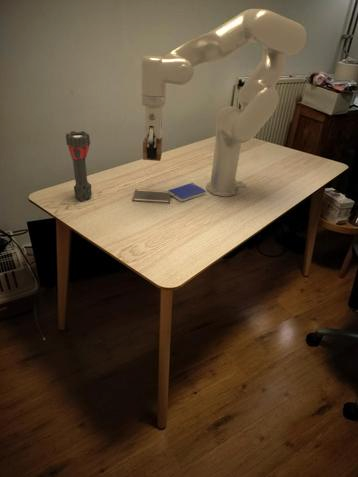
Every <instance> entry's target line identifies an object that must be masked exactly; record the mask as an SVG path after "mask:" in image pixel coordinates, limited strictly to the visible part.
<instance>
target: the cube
mask: <svg viewBox="0 0 358 477" xmlns="http://www.w3.org/2000/svg"><path fill="white" fill-rule="evenodd" d="M153 138H155V137H153ZM153 141H154V140H153ZM147 144H148V138H146V136H144V138H143V142H142V160H143V161H155V162H160V161H162V155H163V154H162V153H163V152H162V151H163V138H162V137H161V138H160V139H158V138H156V147H157V155H156V159H148V158H147Z"/></svg>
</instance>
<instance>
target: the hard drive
mask: <svg viewBox="0 0 358 477" xmlns="http://www.w3.org/2000/svg"><path fill="white" fill-rule="evenodd" d="M167 191H168V194H170V195H171V197H173V198H175V199H176V200H178V201H179V202H184V201H187V200H190V199H193V198H197V197H199V196H202V195H205V194H206V193H207V190H206V189H204V188H202V187H200V186H199V185H198V184H195V183H193V182H190V183H187V184H184V185H181V186H178V187H174V188H171V189H168V190H167Z"/></svg>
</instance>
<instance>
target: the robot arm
mask: <svg viewBox="0 0 358 477" xmlns="http://www.w3.org/2000/svg"><path fill="white" fill-rule="evenodd" d="M306 41H307V31H306V29H305V27H304V26H303V25H302V24H300V23H299V22H297V21H295V20H292V19H290V18H287V17H285V16H283V15H282V14H281V15H280V14H278V13H277V12H274V11H272V10H269V9H265V8H249V9H246V10H244V11H242V12H240V13H239V14H237V15H235V16H233V18H231V19H229V20H228V21H225V22H224V23H223V24H221V25H219V26H217V27H216V28H214V29H213V30H211V31H209V32H207V33H204V34H202V35H200V36H198V37H196V38H194V39H191V40H189V41H187V42H185V43H183V44H181V45H179V46H178V47H177V48H175V49H173V50H172V51H171V52H169V53H167V54H166V55H165V56H164V57H163V56H159V55H145V56H143V57H142V59H141V106H142V107H144V121H145V122H144V132H145V137H146V138H148V144H147V158H148V159H156V155H157V147H156V138H158V139H160V138H162V134H163V108H164V107H166V89H167V88H166V87H167V84H171V85H177V86H183V85H186V84H188V83H189V82H191V80H192V79H193V76H194V74H195V73H194V67H195V66H198V65H200V64H204V63H210V62H211V63H213V62H218V61H222V60H224V59H226V58H228V57H229V56H231V55H233V54H234V53H236V52H237V51H239V50H240V49H242V48H244V47H245V46H247V45H249V44H251V43H255V44H257V45H258V44H260V45H262V56H261V57H262V58H261V60H260V63H259V64H258V66H257V67H256V69H255V70H253V72H252V74H251V75H250V77H248V79H247V80H246V82H245V83H244V84H243V85H242V87H241V88H240V90H239V92H238V94H237V100H238V103H239V105H240V106H241V107H243V108H244V109H243V110H242V109H240V108H238V107H235V106H232V105H229V106H227V105H226V106H225V107H222V109H220V110H219V111H218V113H217V115H216V118H215V144H214V152H213V160H212V168H211V177H210V181H209V182H207V183H206V185H205V190H206V192H208V193H209V194H212V195H214V196H218V197H231V196H234V195H236V194H237V192H238V189H240V188H241V189H247V183H246V182H245V183H244V182H243V180H242V181H241V180H239V181H238V180H237V179H236V178H237V171H238V166H239V160H240V154H241V145H242V144H245V143H248V142H250V141H251V140H252V139H253V138H254V137H255V136H256V135H257V134H258V132H260V130H261V129H262V128H263V126H264V125H265V124H266V123H267V122H268V120H269V119H270V118H271V117H272V115H273V114H274V113H275V111H276V109H277V107H278V104H279V98H280V97H279V93H278V90H277V89H276V88H275V86H276V85H277V83H278V82H279V80H280V79H281V77H282V75H283V73H284V70H285V66H286V56H293V55H296V54H298V53H299V52H300V51H302V49H303V48H304V46H305V44H306ZM153 137H155V138H153ZM153 140H154V141H153Z"/></svg>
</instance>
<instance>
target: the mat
mask: <svg viewBox="0 0 358 477" xmlns="http://www.w3.org/2000/svg"><path fill="white" fill-rule="evenodd" d="M171 199H172V195H170V194H168V190H167V191H165V190H153V189H152V190H150V189H140V188H139V189H135V190H134V192H133V196H132V199H131V201H132V202H139V203H155V204H169V205H170V204H171V201H172V200H171Z"/></svg>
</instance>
